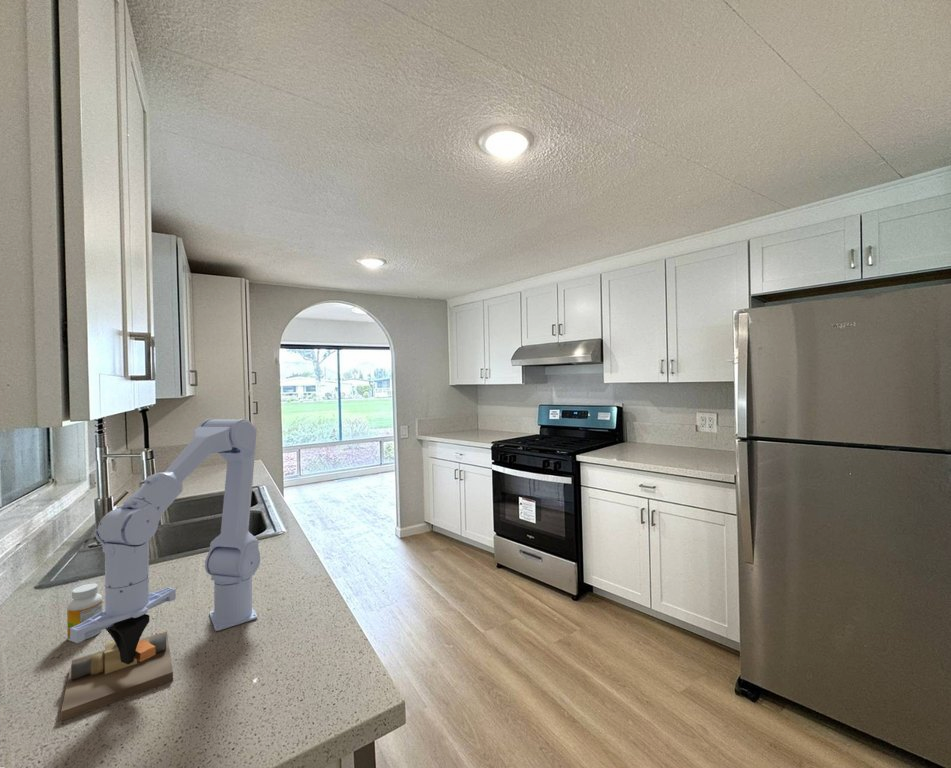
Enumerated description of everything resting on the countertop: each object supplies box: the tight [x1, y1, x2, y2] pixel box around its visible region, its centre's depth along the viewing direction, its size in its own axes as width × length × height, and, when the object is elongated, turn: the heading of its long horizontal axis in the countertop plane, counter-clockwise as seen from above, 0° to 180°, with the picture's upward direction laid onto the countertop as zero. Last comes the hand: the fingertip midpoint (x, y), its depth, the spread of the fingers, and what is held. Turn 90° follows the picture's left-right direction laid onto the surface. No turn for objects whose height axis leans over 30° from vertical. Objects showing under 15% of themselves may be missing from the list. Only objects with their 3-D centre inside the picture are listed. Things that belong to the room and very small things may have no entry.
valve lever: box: [134, 638, 156, 662], centre depth 75 cm, size 10×2×1 cm, turn 61°
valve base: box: [60, 631, 174, 722], centre depth 76 cm, size 16×14×5 cm
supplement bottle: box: [66, 583, 104, 642], centre depth 88 cm, size 5×5×10 cm
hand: (127, 661), depth 72 cm, fingers closed, pressing on valve lever
